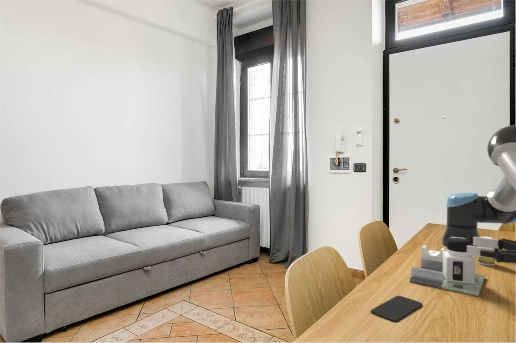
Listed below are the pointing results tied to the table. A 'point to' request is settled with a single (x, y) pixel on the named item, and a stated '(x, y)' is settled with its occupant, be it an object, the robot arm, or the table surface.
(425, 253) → the bracket
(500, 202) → the robot arm
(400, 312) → the phone
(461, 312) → the table surface
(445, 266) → the container
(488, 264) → the supplement bottle
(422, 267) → the board
